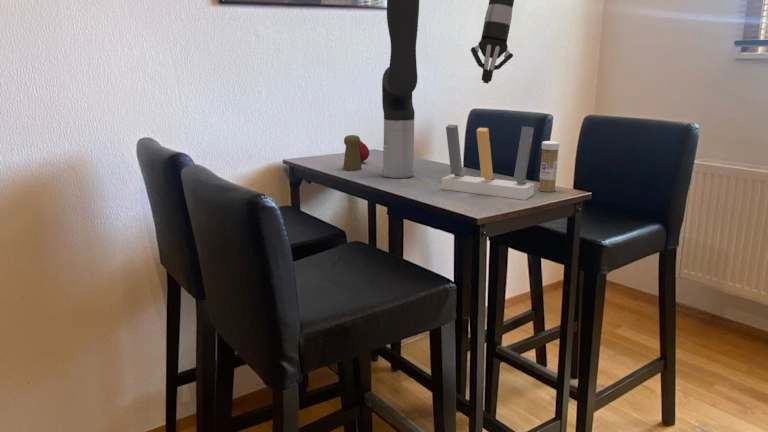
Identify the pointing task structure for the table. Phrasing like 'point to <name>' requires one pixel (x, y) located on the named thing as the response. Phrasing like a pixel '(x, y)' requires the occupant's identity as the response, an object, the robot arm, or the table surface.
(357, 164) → the cork
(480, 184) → the lever base
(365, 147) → the red oval lump
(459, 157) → the lever left
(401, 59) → the robot arm
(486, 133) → the lever middle
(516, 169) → the lever right
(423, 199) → the table surface
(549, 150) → the sprinkles bottle
